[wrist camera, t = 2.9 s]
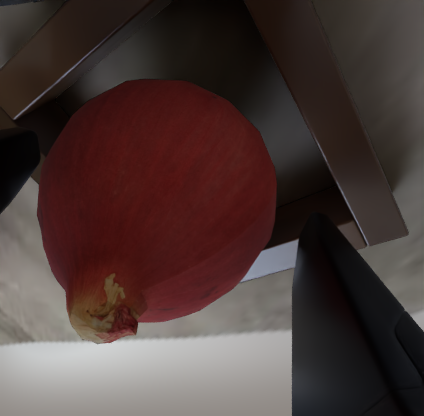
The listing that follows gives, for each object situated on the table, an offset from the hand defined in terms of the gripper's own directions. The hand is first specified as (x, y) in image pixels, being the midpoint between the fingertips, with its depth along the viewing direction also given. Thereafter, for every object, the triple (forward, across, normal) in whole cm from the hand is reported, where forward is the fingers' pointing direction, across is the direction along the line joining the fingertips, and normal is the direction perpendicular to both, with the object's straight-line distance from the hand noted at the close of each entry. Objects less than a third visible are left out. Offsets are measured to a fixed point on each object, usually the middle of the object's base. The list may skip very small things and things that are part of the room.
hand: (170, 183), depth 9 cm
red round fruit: (+3, 0, 0) cm, 3 cm away
